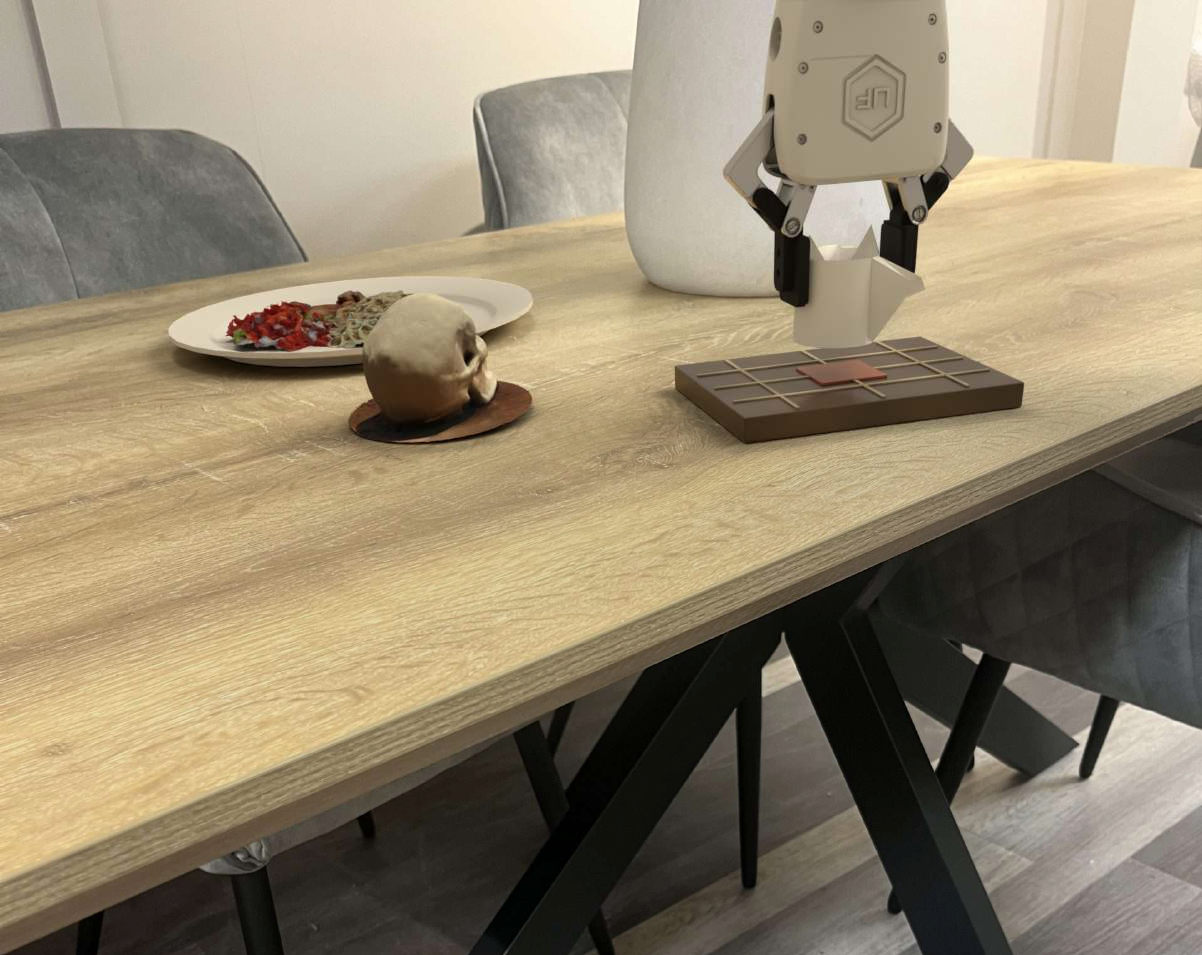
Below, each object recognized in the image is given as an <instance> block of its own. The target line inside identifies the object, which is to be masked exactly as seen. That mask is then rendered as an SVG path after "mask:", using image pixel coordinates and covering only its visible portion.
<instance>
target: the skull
mask: <svg viewBox="0 0 1202 955" xmlns="http://www.w3.org/2000/svg"><path fill="white" fill-rule="evenodd" d="M487 346H488V345H487V344H486V342H485V341H484V339H483V338H482V337H481V336H480V337H479V336H477V335H476V331H475V325H474V321H473V319H472V317H471V316H470V315H469V314H468V312H466V310H465V309H463V308H462V307H461V306H460V305H458V304H457V303H455V302H453V301H451V300H448V299H446V298H444V297H441V296H439V295H436V294H430V293H418V294H413V295H409V296H406V297H404V298H402V299H400V300H398V301H396V302H395V303H394V304H392V305H391V306H390V307H389V308H388V309H387V310H386V312H385V313H384V314H383V315H382V316H381V318H380V319H379V320H378V322H377V323H376V325H375V326H374V328H373V329H372V331H371V332H370V333H369V335H368V337H367V339H366V341H365V343H364V346H363V351H362V353H363V363H362V370H363V374H364V378H365V383H366V385H367V388H368V391H369V393H370V395H371V397H372V398H371V399H368V400H366V401H363V402H362V403H360V405H358V406H356V407H355V409H354V410H353V411H352V412H351V413H350V416H349V418H348V425H349V428H351V430H352V432H356V434H357V435H358V436H360V437H363V438H365V439H366V440H368V439H369V440H372V441H380V442H381V441H382V442H396V443H420V442H421V443H422V442H425V443H428V442H436V441H444V440H445V441H446V440H451V439H455V438H462V437H466V436H471V435H476V434H479V433H483V432H487V431H491V429H495V428H498V427H500V426H501V425H503V426H504V425H506V424H507V423H511V422H513V421H514V420H516V419H517V418H519V417H520V416H522V415H523V414H525V412H527V411H528V410H529V408H530V407H531V405H532V403H533V395H532V394H531V392H530V391H529V390H528V389H526V388H525V387H522V386H520V385H519V384H516V383H513V382H507V381H501V380H497V379H496V377H495V376H494V374H493V373H492V372H491V371H490V370H489V368H488V362H487V358H488V355H489V350H488V347H487Z"/></svg>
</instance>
